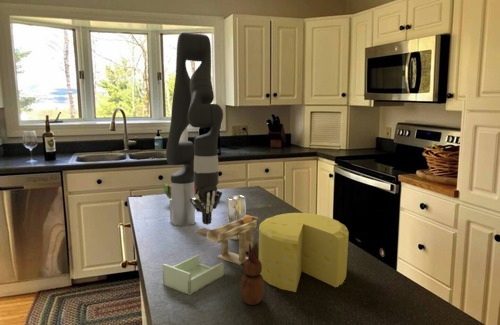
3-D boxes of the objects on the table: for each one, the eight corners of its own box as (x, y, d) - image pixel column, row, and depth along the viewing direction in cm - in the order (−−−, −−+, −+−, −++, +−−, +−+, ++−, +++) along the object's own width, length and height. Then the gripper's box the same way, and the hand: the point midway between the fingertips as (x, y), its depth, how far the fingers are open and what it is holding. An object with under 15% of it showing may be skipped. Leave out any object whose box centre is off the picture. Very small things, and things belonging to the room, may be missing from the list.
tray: (163, 284, 111) (162, 264, 110) (198, 266, 122) (197, 248, 121) (189, 295, 105) (189, 274, 104) (223, 275, 117) (223, 256, 116)
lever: (230, 220, 140) (231, 211, 140) (257, 227, 134) (257, 217, 133) (191, 235, 124) (191, 225, 123) (219, 243, 118) (219, 232, 117)
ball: (240, 224, 132) (241, 214, 132) (245, 223, 135) (246, 213, 135) (248, 226, 131) (249, 216, 130) (253, 225, 133) (254, 215, 133)
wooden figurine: (240, 294, 106) (240, 241, 103) (261, 294, 106) (262, 240, 104) (241, 308, 99) (242, 251, 97) (265, 307, 100) (266, 250, 97)
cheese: (326, 303, 102) (329, 247, 100) (241, 277, 116) (241, 228, 113) (357, 266, 124) (360, 219, 122) (282, 248, 138) (283, 206, 135)
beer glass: (243, 241, 144) (243, 200, 141) (224, 239, 145) (224, 199, 142) (247, 234, 150) (247, 195, 148) (229, 232, 152) (229, 194, 149)
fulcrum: (238, 246, 138) (238, 219, 137) (260, 253, 133) (261, 224, 131) (217, 257, 129) (217, 228, 127) (240, 264, 124) (240, 234, 122)
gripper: (210, 165, 130) (211, 216, 133) (182, 171, 119) (183, 227, 122) (229, 167, 126) (229, 220, 129) (200, 174, 115) (201, 231, 118)
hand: (206, 223), depth 126 cm, fingers closed
